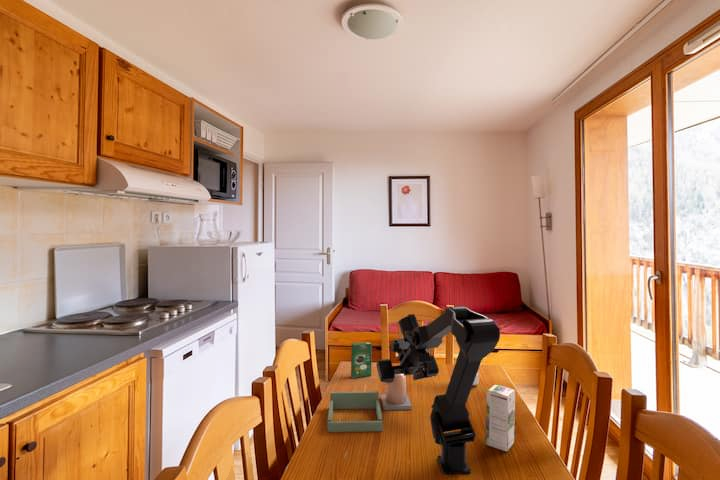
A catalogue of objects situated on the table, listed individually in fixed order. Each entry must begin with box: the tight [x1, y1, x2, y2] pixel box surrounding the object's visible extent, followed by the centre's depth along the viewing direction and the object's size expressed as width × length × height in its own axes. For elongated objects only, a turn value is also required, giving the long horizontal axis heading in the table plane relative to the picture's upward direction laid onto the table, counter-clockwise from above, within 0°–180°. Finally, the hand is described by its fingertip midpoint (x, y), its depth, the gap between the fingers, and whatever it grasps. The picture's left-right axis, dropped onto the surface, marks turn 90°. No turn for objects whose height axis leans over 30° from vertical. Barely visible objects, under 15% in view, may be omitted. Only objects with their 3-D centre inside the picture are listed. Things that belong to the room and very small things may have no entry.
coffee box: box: [350, 341, 373, 379], centre depth 150 cm, size 8×3×13 cm, turn 113°
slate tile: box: [380, 393, 413, 411], centre depth 125 cm, size 9×9×1 cm
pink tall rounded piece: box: [385, 371, 407, 405], centre depth 124 cm, size 6×6×9 cm
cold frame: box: [327, 391, 384, 433], centre depth 114 cm, size 16×16×5 cm
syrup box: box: [485, 384, 516, 452], centre depth 100 cm, size 6×6×14 cm
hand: (400, 380), depth 121 cm, fingers open, 9 cm apart
